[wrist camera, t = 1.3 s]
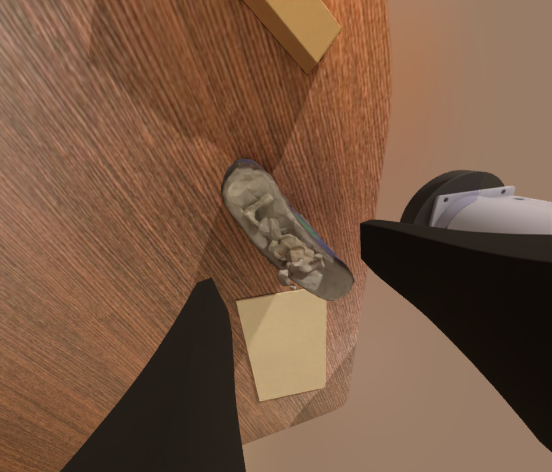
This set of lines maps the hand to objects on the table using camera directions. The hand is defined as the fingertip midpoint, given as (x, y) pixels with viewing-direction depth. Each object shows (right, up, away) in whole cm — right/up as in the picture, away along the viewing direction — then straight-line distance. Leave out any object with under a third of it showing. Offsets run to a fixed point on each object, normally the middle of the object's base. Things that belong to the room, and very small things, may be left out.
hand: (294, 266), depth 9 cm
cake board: (+1, -13, +16) cm, 21 cm away
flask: (-1, +4, +9) cm, 10 cm away
